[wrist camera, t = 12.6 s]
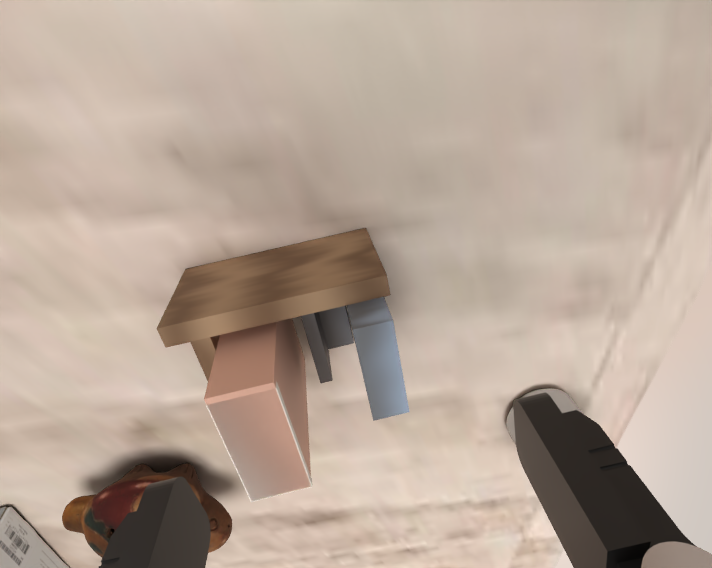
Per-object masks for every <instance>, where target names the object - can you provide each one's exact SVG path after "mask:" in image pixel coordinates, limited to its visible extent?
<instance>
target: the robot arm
mask: <svg viewBox="0 0 712 568" xmlns="http://www.w3.org/2000/svg"><path fill="white" fill-rule="evenodd" d="M513 410H514V425H515V439H516V447H517V452H518V455H519V458H520V461H521V464H522V466H523V469H524V471H525V473H526V475H527V477H528V479H529V481H530V483H531V485H532V487H533V489H534V491H535V493H536V494H537V496H538V498H539V500H540V502H541V504H542V506H543V508H544V510H545V512H546V514H547V516H548V518H549V520H550V522H551V524H552V526H553V528H554V530H555V532H556V534H557V536H558V538H559V540H560V542H561V544H562V546H563V548H564V549H565V551H566V553H567V555H568V557H569V559H570V561H571V563H572V565H573V567H574V568H712V555H711V554H710V553H709V552H707V551H704V550H703V549H701V548H698V547H697V546H695V545H694V544H693V543H691V541H689V540H688V539H687V538H686V537H685V536H684V535H683V533H681V531H680V530H679V529H678V528H677V526H676V525H675V523H674V522H673V521H672V520H671V518H670V517H669V516H668V514H667V513H666V512H665V510H664V509H663V508H662V506H661V505H660V504H659V503H658V501H657V500H656V499H655V497H654V496H653V495H652V493H651V492H650V491H649V490H648V488H647V487H646V486H645V484H644V483H643V482H642V481H641V479H640V478H639V476H638V475H637V474H636V473H635V471H634V470H633V469H632V467H631V466H630V465H628V464H627V461H626V459H625V458H624V457H623V456H622V454H621V453H620V452H619V450H618V449H616V448H615V447H614V444H613V443H612V441H611V440H610V439H609V437H608V436H607V435H606V433H605V432H604V431H603V429H602V428H601V427H600V426H599V424H597V423H596V422H594V421H593V420H591V419H590V418H588V417H587V416H585V415H584V414H582V413H581V412H579V411H578V410H574V411H569V412H565V413H562V412H561V411H560V409H559V408H558V406H557V405H556V403H555V402H554V401H553V399H552V398H551V396H550V395H549V394H548V393H546V392H544V393H540V394H536V395H531V396H527V397H523V398H519V399H515V400H514V401H513ZM210 537H211V530H210V522H209V518H208V515H207V513H206V511H205V510H204V508H203V507H202V505H201V503H200V502H199V500H198V498H197V497H196V495H195V493H194V492H193V490H192V488H191V487H190V485H189V484H188V482H187V480H186V479H185V478H184V477H176V478H172V479H168V480H164V481H159V482H155V483H151V484H149V485H148V486H147V487H146V488H145V490H144V492H143V495H142V498H141V500H140V503H139V506H138V509H137V511H135V512H131V513H128V514H127V515H126V517H125V518H124V519H123V521H122V522H121V524H120V525H119V526H118V528H117V529H116V530H115V532H114V533H113V535H112V536H111V538H110V540H109V543H108V545H107V548H106V550H105V553H104V555H103V558H102V560H101V562H102V565H101V566H99V568H205V565H206V560H207V555H208V550H209V545H210Z"/></svg>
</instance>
